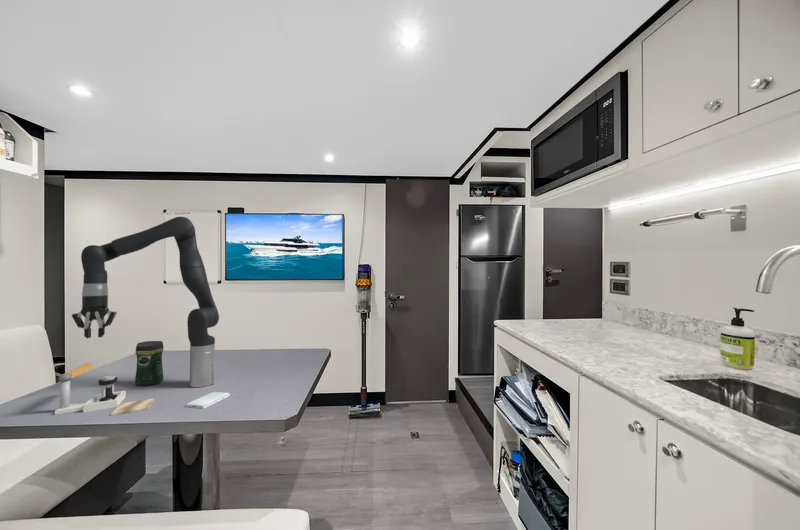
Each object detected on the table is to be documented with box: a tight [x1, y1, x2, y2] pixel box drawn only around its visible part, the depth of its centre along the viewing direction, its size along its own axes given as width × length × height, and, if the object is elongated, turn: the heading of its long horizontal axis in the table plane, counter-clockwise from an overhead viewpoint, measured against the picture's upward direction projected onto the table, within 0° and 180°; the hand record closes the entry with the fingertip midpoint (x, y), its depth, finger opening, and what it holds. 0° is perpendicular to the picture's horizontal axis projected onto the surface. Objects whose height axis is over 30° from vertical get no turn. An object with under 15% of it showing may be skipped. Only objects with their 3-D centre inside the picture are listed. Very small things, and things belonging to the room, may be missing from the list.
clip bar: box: [58, 362, 93, 382], centre depth 120 cm, size 18×3×2 cm, turn 24°
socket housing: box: [54, 380, 127, 415], centre depth 116 cm, size 17×11×10 cm, turn 118°
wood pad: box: [110, 398, 155, 416], centre depth 114 cm, size 10×10×1 cm
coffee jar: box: [134, 340, 165, 386], centre depth 141 cm, size 10×8×19 cm
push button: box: [98, 374, 118, 402], centre depth 118 cm, size 7×5×10 cm
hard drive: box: [184, 391, 231, 409], centre depth 119 cm, size 2×8×12 cm
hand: (94, 337), depth 128 cm, fingers open, 3 cm apart
